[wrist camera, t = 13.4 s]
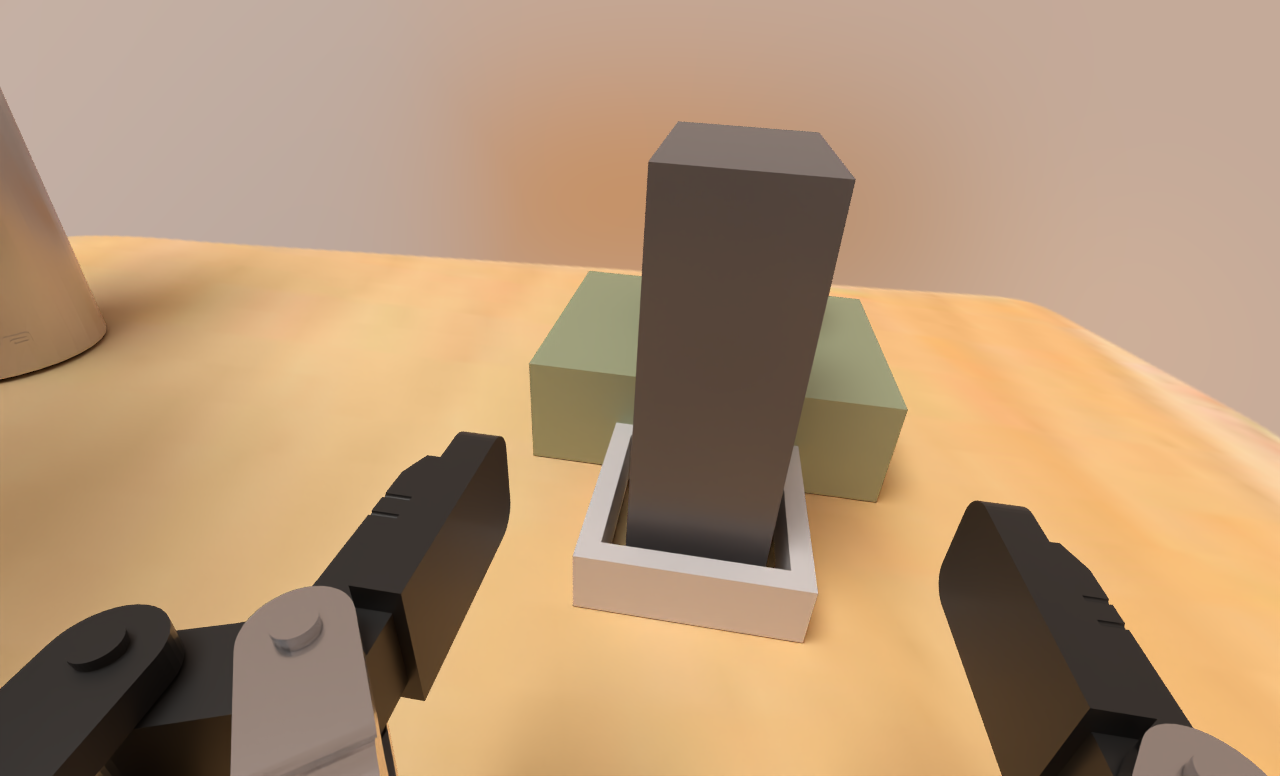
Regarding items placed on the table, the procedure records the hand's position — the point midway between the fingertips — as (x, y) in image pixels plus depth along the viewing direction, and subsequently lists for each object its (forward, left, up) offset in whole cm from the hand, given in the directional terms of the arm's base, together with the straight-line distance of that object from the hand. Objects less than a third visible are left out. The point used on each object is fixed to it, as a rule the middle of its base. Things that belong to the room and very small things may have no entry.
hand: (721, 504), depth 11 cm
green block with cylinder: (-11, +11, -11) cm, 19 cm away
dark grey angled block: (-8, +8, -11) cm, 15 cm away
